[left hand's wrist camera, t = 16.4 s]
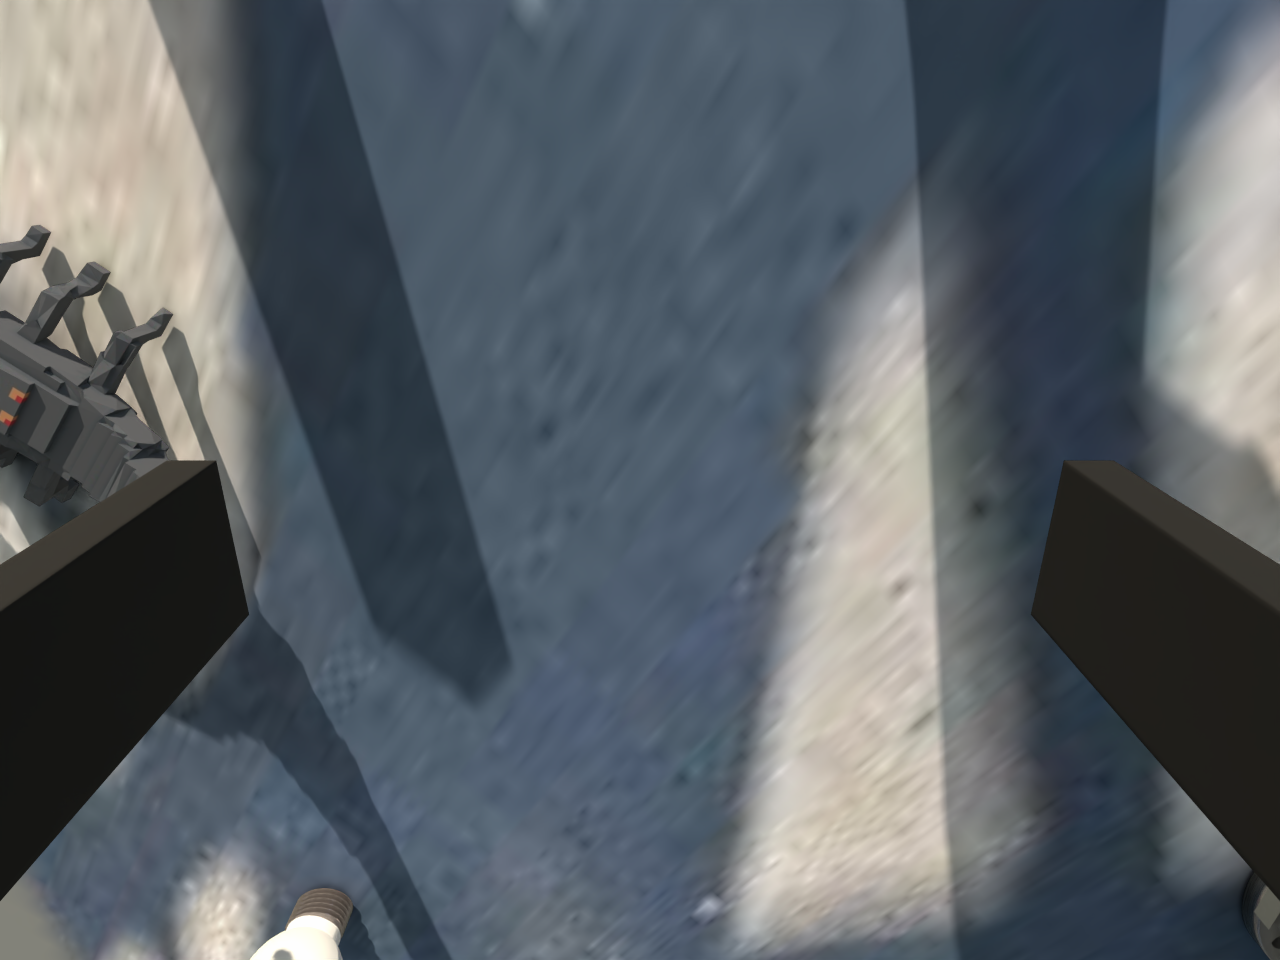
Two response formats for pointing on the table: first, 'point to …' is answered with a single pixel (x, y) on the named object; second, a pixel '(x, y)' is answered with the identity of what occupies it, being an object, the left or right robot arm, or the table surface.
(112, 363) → the toy
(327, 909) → the light bulb
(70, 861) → the table surface
